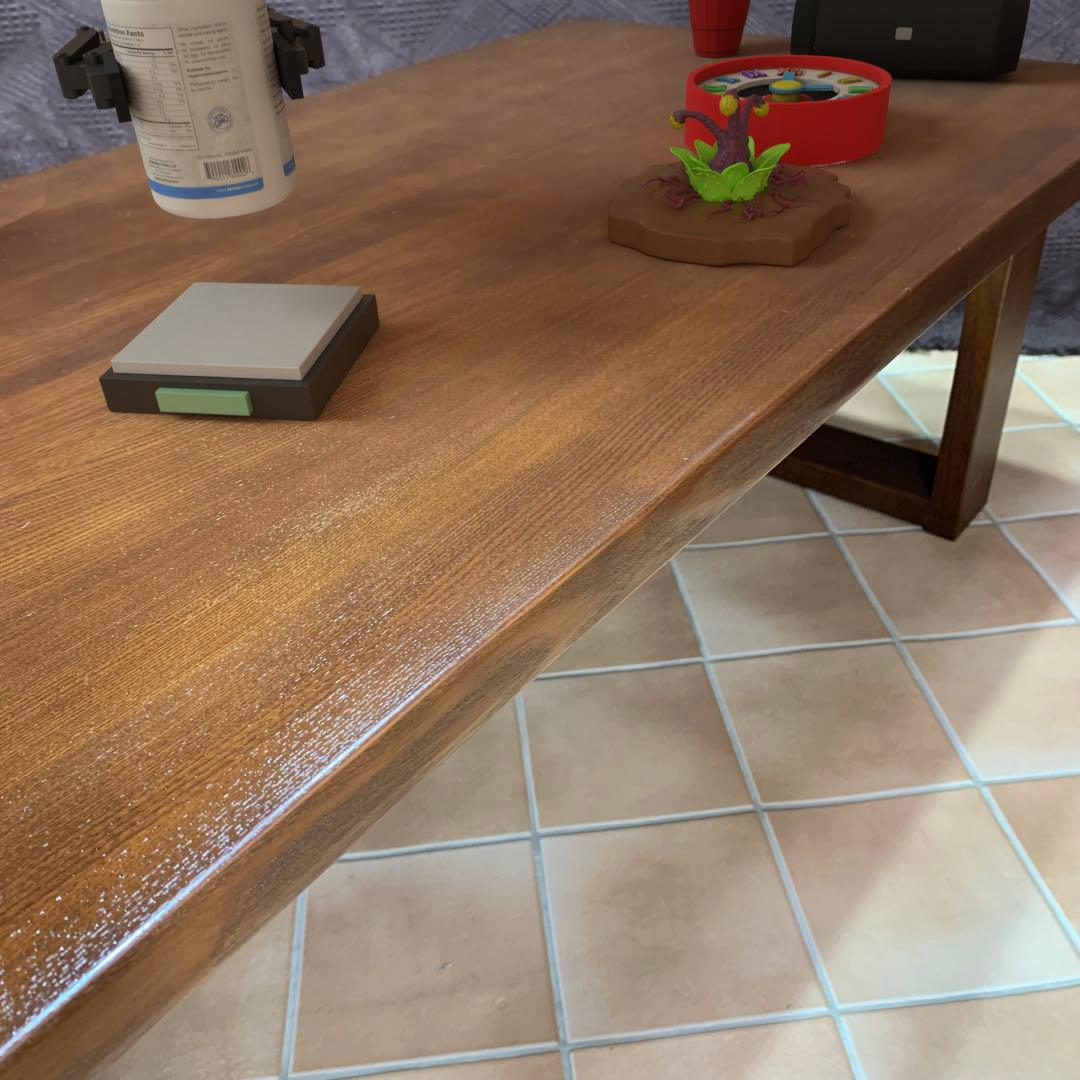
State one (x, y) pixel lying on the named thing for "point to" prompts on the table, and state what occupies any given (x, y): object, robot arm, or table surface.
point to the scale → (244, 351)
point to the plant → (728, 199)
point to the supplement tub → (204, 103)
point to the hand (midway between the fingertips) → (208, 86)
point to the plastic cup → (717, 26)
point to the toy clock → (797, 105)
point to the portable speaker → (915, 35)
